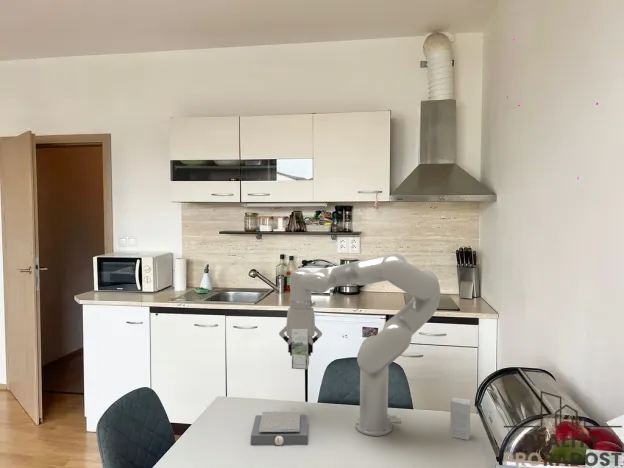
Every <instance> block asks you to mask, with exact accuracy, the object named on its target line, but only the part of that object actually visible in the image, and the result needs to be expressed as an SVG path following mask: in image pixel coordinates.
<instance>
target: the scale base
mask: <svg viewBox="0 0 624 468" xmlns="http://www.w3.org/2000/svg"><path fill="white" fill-rule="evenodd" d="M261 417H262V414H260V415H259V414H258V415H257V414H256V415H255V417H254V420H253V421H254V422H253V426H252V430H251V433H250V434H251V435H250V445H251V446H265V445H266V446H267V445H268V446H270V445H271V446H272V445H274V446H283V445H284V446H286V445H289V446H291V445H295V446H297V445H300V446H301V445H305V446H306V445H308V415H306V414H302V415H301V414H300V432H259V427H260V422H261Z"/></svg>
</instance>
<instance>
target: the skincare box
mask: <svg viewBox="0 0 624 468" xmlns="http://www.w3.org/2000/svg"><path fill="white" fill-rule="evenodd" d="M449 424H450V425H449V426H450V432H449V433H450V434H449V436H450V437H451V438H456V439H462V440H466V441H469V440H470V437H471V399H466V398H460V397H456V396H455V397H453V396H452V397H451V399H450V423H449Z"/></svg>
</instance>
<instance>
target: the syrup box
mask: <svg viewBox="0 0 624 468" xmlns="http://www.w3.org/2000/svg"><path fill="white" fill-rule="evenodd" d="M309 366H310V356H309V339H308V330H307V329H292V356H291V369H292V370H293V369H294V370H308V368H309Z"/></svg>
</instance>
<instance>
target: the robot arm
mask: <svg viewBox="0 0 624 468" xmlns="http://www.w3.org/2000/svg"><path fill="white" fill-rule="evenodd" d="M289 275H290V277H289V278H290V279H289V283H290V284H289V285H290V286H289V287H290V288H289V289H290V291H289V292H290V293H289V296H290V300H289V302H290V303H289V306H290V307H288V310H287V314H286V315H287V316H286V324H285V326H284V327H283V328H282V329H281V330H280V331H279V333H278V335H279V337H281V338H282V339H283V340H284V342H286V344H287V350H288V351H287V352H288V353H289V356H290V357H292V329H307V330H308V339H309V357H311V356H312V354H313V352H314V349H313V348H314V344H315V343H316V342H317V341H318V340H319V338H321V337H322V335H323V332H322V331H321V330H320V329H319V328H318V326H317V325H316V319H315V311H314V307H313V306H316V301H313V300H312V293H315V294H316V293H317V294H325V293H326V292H328V291H329V290H330V289H331V288H332V289H333V288H337V287H341V286H346V285H357V286H367V285H372V284H376V283H381V282H389V284H392V285H393V286H395V287H396V288H398V289H400V290H401V291H402V292H405V293H406V294H408V295H410V296H412V298H411V299H410V300H409V302H407V304H405V305H404V306H403V307H402V308H401V309H400V310H398V312H396V313H395V314H394V315H393V316H391V318H389V319H388V320H387V321H386V322H385V324H383V325H384V326H383V328H382V330H380V331H379V332H378V333H377V334H376V335H375V334H373V335H370V336H368V337H366V338H364V340H363V341H362V343H361V345H360V348H359V349H358V352H357V356H356V360H357V364H358V367H359V368H360V373H359V375H360V377H359V379H360V380H359V418H358V419H356V420H355V423H354V424H355V425H354V426H355V428H356V430H357V431H358V432H360V433H361V434H364V435H366V436H371V437H372V436H375V437H381V436H385V435H388V434H390V432H391V431H392V430H393V424H396V425H400V424H402V423H403V422H402V421H403V420H402V418H401V417H397V415H396V414H392V415H391V414H389V412H388V411H389V410H388V407H389V402H388V401H389V398H388V397H389V365H391V364H392V363H393V362H394V361H396V359H398V358H400V356H401V355H402V354H403V353H405V352H406V350H407V349H408V348H409V346H410V344H411V343H412V337H413V335H414V334H415V333H417V332H418V330H420V329H421V328H422V327H423V326H424V325H425V324H427V322H428V321H429V320H430V319H431V318H432V317H433V316H434V315H435V312H436V311H437V310H438V308H439V305H440V301H441V300H440V299H441V287H440V283H439V279H438V277H437V275H436V274H435V273H434V272H432V271H429V270H421V269H419V268H417V267H416V266H414V265H412V264H410V263H409V262H408V261H407V260H406V258H405V257H404V256H403V255H401V254H399V253H390V254H384V255H381V256H376V257H371V258H366V259H361V260H356V261H352V262H348V263H344V264H338V265H335V266H329V267H326V268H321V269H319V270H317V271H315V272H313V271H312V272H311V271H310V270H307V269H294V270H292V271H291V272H290V274H289ZM315 333H316V335H315Z"/></svg>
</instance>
